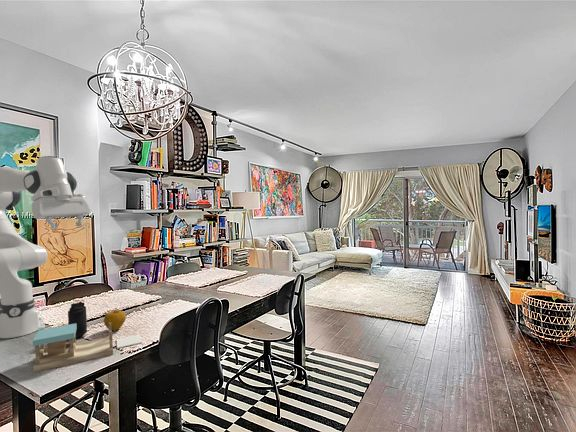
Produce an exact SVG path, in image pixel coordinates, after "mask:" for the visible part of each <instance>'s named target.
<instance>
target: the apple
mask: <svg viewBox="0 0 576 432" xmlns="http://www.w3.org/2000/svg"><path fill="white" fill-rule="evenodd" d="M126 317H127V316H126V313H125V312H124V311H123V310H120V309H114V310H112V311H109V312H107V313H106V314H105V315H104V318H103V322H104V326H105V327H106V329H108V330H109V323H111V325H112V330H115V331H118V330H120V329H121V327H122V326H123V325H124V323H125V321H126V319H127V318H126ZM119 328H120V329H119ZM117 329H118V330H117Z"/></svg>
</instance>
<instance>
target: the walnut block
mask: <svg viewBox="0 0 576 432" xmlns="http://www.w3.org/2000/svg"><path fill="white" fill-rule="evenodd" d="M66 343H67V340H63V341H58V342H53V343H48V344H46V347H47V350H48V357H49V356H53V355H58V354H63V353H66Z"/></svg>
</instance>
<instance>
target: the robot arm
mask: <svg viewBox="0 0 576 432" xmlns="http://www.w3.org/2000/svg"><path fill="white" fill-rule="evenodd" d="M77 185H78V182H77V179H76V178H75V176H74V175H73V174H71V172H69V171H66V167H65V164H64V162H63V161H62V159H61V158H60V157H57V156H51V155H44V156H40V157H38V158H37V162H36V165H35V167H34V168H33V170H31V171H26V170H23V169H19V168H15V167H10V166H0V339H12V338H17V337H18V338H19V337H23V336H27V335H29V334H31V333H32V334H33V333H35V332H38V330H42V329H46V325H45V321H44V319H43V317H40V316H39V311H38V309H37V308H36V307H35V305H36V301H35V299H34V297H33V296H34V295H33V283H32V282H31V281H30V280H29V279H26V278H22V277H19V275H18V272H20V271H21V272H22V271H26V270H32V269H35V268H37V267H41V266H43V265H45V264H46V262H47V261H48V256H49V255H48V251H47V250H46V248H45V247H43V246H42V245H38V244H34V243H33V242H30V241H28V240H27V239H25V238H24V237H23V236H21V235H20V234H19V233H18V232H17V230H16V229H15V227H14V226H13V224H12V223H11V221H10V219H9V218H8V216H7V215H6V211H11V210H13V208H14V207H15V206H17V205H18V203H20V201H21V198H22V194H21V192H23V191H27V192H28V193H30V194H32V196H30V198H31V199H30V200H31V202H32V203H31V212H32V216H33V217H34V219H36V220H42V219H43V220H44V219H45V222H46V223H48V224H49V225H50V227H51V228H50V229H51V230H56V229H58V228H59V226H58V222H57V223H55V222H54V220H53V219H56V218H69V217H71V218H72V217H73V218H74V217H76V219H78V220H77V221H76V222H75V225H76V227H83V222H82V221H83V219H84V217H85V216H88V215H89V214H91V207H90V204H89V202H88V199H87V197H86V196H85V195H83V194H82V193H81V194H80V193H79V194H78V193H77V194H76V193H75V194H74V193H73V192H74V191H76V189H77V187H78V186H77Z"/></svg>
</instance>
